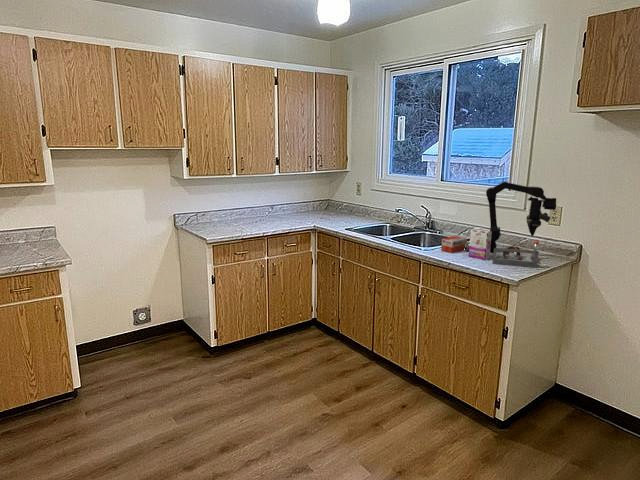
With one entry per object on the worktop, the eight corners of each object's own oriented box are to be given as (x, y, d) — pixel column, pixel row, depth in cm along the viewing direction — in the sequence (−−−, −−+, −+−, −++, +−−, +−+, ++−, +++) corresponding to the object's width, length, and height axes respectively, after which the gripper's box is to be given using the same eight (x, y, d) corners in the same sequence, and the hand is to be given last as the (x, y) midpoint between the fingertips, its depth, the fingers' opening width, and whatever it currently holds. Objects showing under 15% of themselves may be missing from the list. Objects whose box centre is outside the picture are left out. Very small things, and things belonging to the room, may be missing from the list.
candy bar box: (489, 258, 245) (492, 231, 242) (485, 260, 242) (488, 232, 239) (472, 255, 254) (474, 228, 250) (467, 256, 251) (470, 229, 247)
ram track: (532, 262, 237) (532, 261, 237) (530, 256, 250) (530, 255, 250) (539, 263, 236) (539, 262, 236) (537, 257, 249) (537, 256, 248)
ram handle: (531, 257, 245) (533, 240, 242) (531, 256, 247) (533, 239, 245) (537, 258, 244) (539, 240, 241) (537, 256, 246) (539, 239, 244)
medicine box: (451, 253, 258) (452, 241, 256) (440, 251, 264) (441, 238, 262) (466, 250, 266) (467, 237, 265) (455, 247, 273) (456, 235, 271)
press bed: (492, 263, 235) (494, 248, 233) (492, 261, 241) (493, 245, 239) (536, 268, 227) (538, 251, 225) (535, 265, 233) (537, 249, 231)
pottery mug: (518, 262, 240) (512, 249, 240) (504, 266, 248) (497, 253, 248) (527, 253, 248) (520, 241, 247) (513, 257, 255) (506, 245, 255)
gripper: (553, 212, 237) (548, 239, 240) (548, 207, 254) (544, 232, 257) (531, 210, 241) (527, 236, 244) (528, 205, 258) (524, 230, 261)
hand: (531, 234), depth 252 cm, fingers open, 9 cm apart
